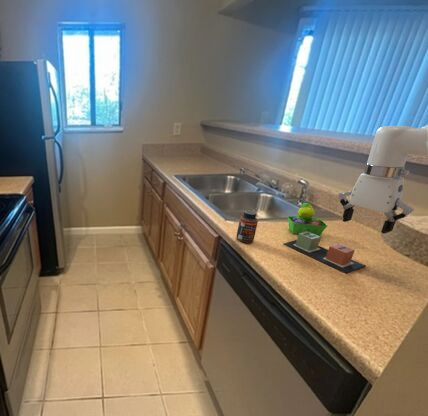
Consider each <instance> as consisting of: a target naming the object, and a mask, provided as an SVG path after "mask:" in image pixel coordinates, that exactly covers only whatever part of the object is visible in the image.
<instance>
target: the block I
mask: <svg viewBox="0 0 428 416" xmlns="http://www.w3.org/2000/svg"><path fill="white" fill-rule="evenodd" d="M355 251H356V250H355V249H354V248H351V247H348V246H347V245H343V244H341V243H335V244H333V245H329V247H328V253H327V256H326V259H328V260H330V261H332V262H334V263H337V264H339V265H341V266H342V265H345V264H348V263H350V262H351V259H352V260H353V256H354V254H355Z"/></svg>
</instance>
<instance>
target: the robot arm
mask: <svg viewBox="0 0 428 416" xmlns="http://www.w3.org/2000/svg"><path fill="white" fill-rule="evenodd" d="M409 155H413V156H420V157H427V158H428V124H426V125H424V126H422V127H413V126H408V125H385V126H381V127H379V128H377V130H376V131H375V135H374V138H373V141H372V145H371V148H370V151H369V155H368V159H367V161H366V166H365V168H364V171H363V173H360V174H359V176H358V178H357V180H356V182H355V184H354V185H353V188H352V190H350V191H345V192H340V193H338V198H339V202H340V204H341V205H342V209H343V213H342V222H344V223H347V222H350V221H351V220H352V217H353V214H354V211H355V207H357V208H362V209H365V210H369V211H373V212H377V213H382V214H384V216H385V217H386V220H384V222H383V225H382V228H381V231H380V233H381V234H384V235H385V234H387V233H390V232H392V231H393V230H394V227H395V225H396V222H397V221H399V220H402V219H404V218H407V217H408V216H409V215H411V214H412V213H413V212H415V208H414V207H412V206H411V205H409V204H408V203H406V202H404V201H403V199H402V198H403V193H404V190H405V189H404V188H405V177H403V176H409V175H410V170H408V169H405V168H406V166H405V165H406V162H407V159H408V156H409ZM348 196H349V200H348V199H347V197H348ZM399 208H400V209H401V210H402V212H400V213H397V212H396V211H398V210H399Z"/></svg>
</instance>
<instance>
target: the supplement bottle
mask: <svg viewBox="0 0 428 416" xmlns="http://www.w3.org/2000/svg"><path fill="white" fill-rule="evenodd" d="M258 222H259V220H258V218H257V212H255V211H253V210H249V209H247V210H244V211H243V215H240V217H239V221H238V226H237V231H236V236H235V237H236V238H235V239H236V240H237V241H238V242H241V243H244V244H251V243H253V242H254V240H255V236H256V232H257V227H258Z"/></svg>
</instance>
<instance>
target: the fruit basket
mask: <svg viewBox="0 0 428 416" xmlns="http://www.w3.org/2000/svg"><path fill="white" fill-rule="evenodd" d="M315 215H316V211H315V210H314V207H313V206H312V204H311V203H309V202H304V203H302V204H301V207H300V208H299V209H298V211H297V216H293V215H288V216H287V220H288V229H289V230H290V232H291V233H292V234H293V235H298V234H299V233H303V232H310V233H313V234H315V235H318V236H320V237H321V235H322V234H323V233H324V231H325V230H326V228H327V227H328V224H326V223H325V222H324V221H323V220H322V219H321V218H317V217H314V216H315Z"/></svg>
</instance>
